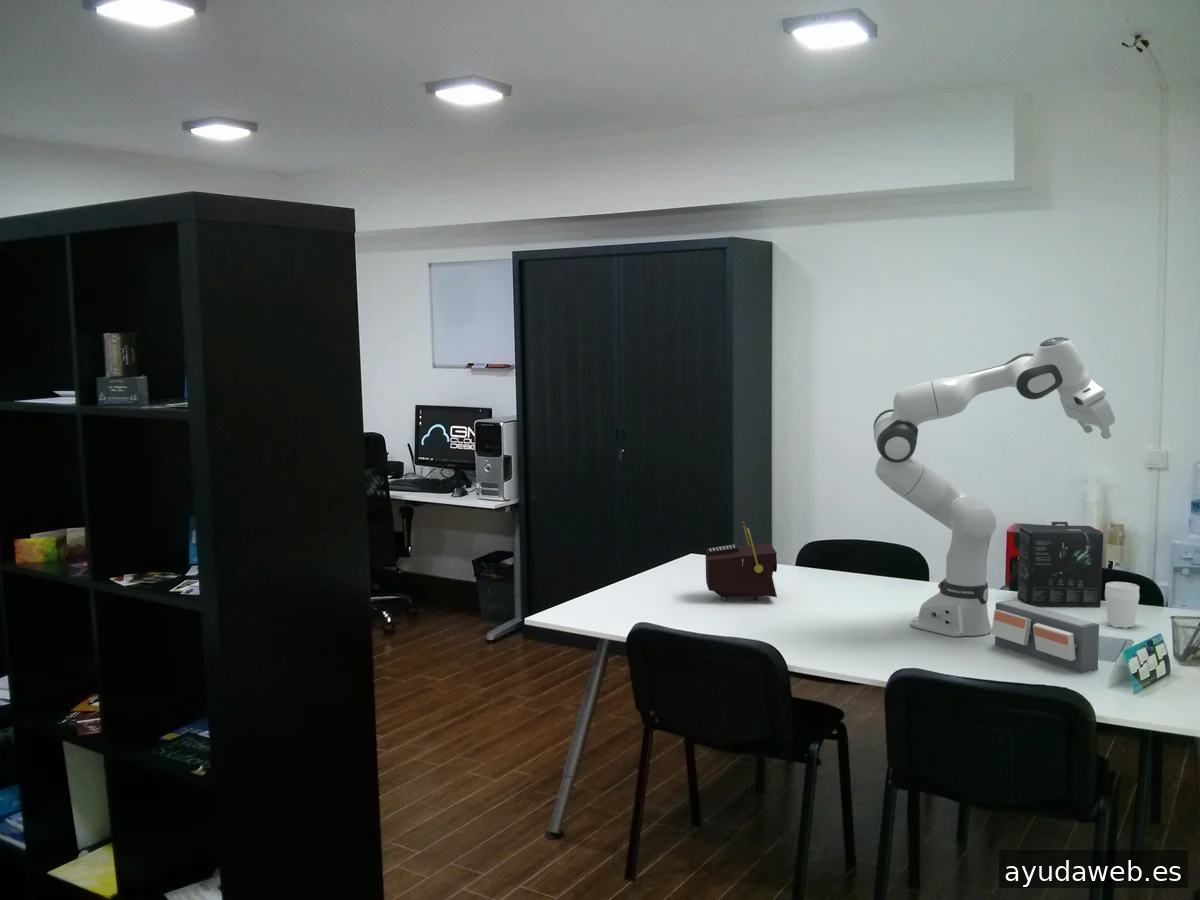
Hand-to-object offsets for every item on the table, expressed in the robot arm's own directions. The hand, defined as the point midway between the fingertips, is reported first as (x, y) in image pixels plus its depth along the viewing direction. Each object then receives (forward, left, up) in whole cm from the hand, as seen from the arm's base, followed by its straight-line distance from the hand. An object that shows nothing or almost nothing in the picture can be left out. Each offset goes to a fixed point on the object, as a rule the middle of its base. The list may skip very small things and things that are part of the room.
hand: (1098, 434), depth 279 cm
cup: (+3, +20, -58) cm, 61 cm away
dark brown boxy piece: (-104, -16, -58) cm, 121 cm away
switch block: (-5, -19, -58) cm, 61 cm away
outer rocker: (-1, -29, -54) cm, 62 cm away
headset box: (-19, +36, -58) cm, 71 cm away
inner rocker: (-15, -24, -54) cm, 61 cm away
